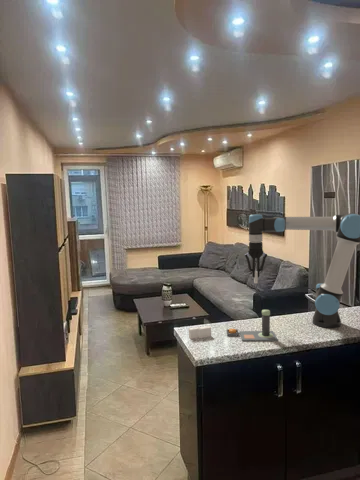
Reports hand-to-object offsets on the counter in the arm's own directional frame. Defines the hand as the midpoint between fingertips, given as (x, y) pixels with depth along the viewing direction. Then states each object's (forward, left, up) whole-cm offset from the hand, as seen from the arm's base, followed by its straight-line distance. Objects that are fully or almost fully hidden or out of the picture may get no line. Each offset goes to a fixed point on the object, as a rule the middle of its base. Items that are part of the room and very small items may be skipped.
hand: (255, 282), depth 202 cm
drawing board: (+2, +19, -24) cm, 31 cm away
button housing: (+15, +15, -24) cm, 32 cm away
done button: (+15, +15, -25) cm, 33 cm away
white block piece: (+33, +18, -25) cm, 45 cm away
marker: (-2, +19, -23) cm, 30 cm away
